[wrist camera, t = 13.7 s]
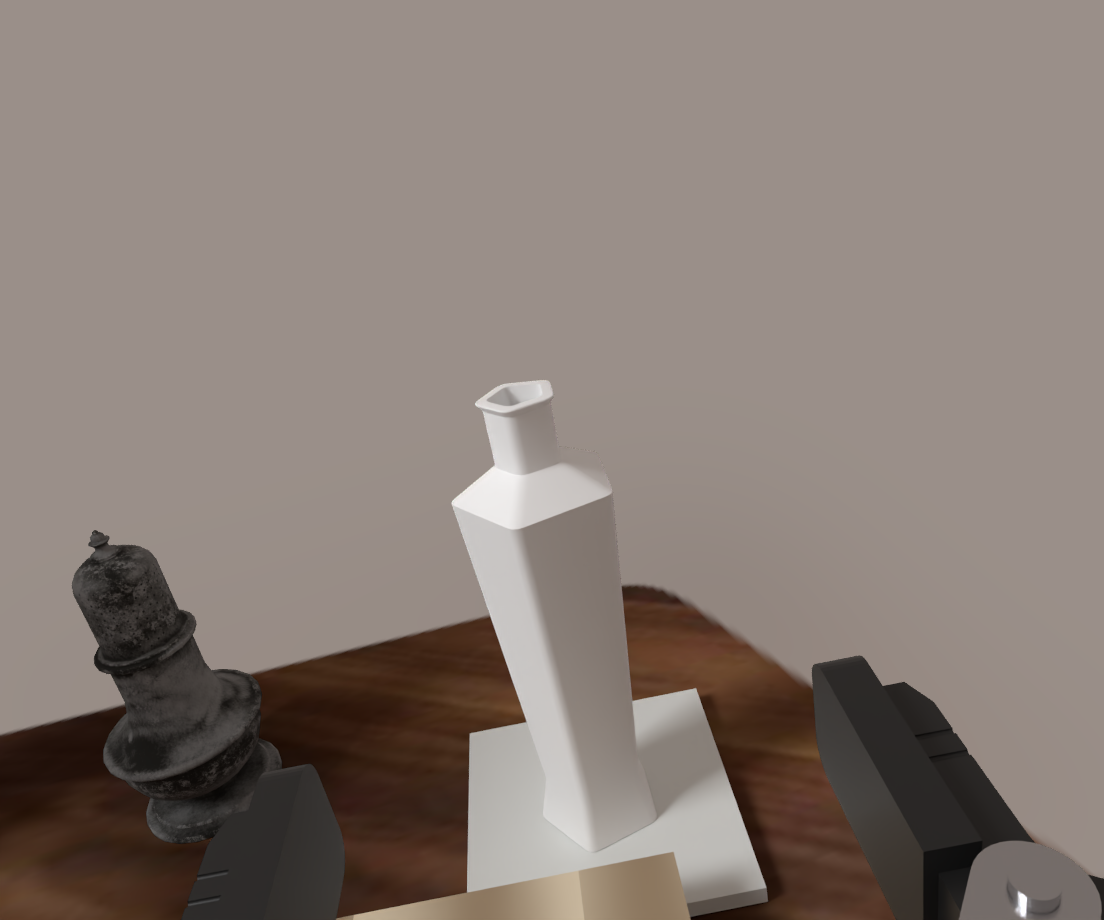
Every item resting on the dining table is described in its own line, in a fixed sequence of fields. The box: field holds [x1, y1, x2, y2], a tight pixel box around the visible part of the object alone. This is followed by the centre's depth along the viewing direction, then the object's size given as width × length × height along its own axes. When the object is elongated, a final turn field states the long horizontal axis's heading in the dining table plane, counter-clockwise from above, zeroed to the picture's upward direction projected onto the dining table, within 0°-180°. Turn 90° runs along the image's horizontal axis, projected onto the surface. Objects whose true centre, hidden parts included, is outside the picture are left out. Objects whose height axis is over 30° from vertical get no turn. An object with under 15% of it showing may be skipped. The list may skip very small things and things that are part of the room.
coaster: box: [467, 689, 768, 917], centre depth 29 cm, size 9×9×1 cm
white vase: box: [452, 380, 657, 852], centre depth 26 cm, size 5×4×15 cm
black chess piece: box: [72, 530, 282, 844], centre depth 32 cm, size 6×6×12 cm
